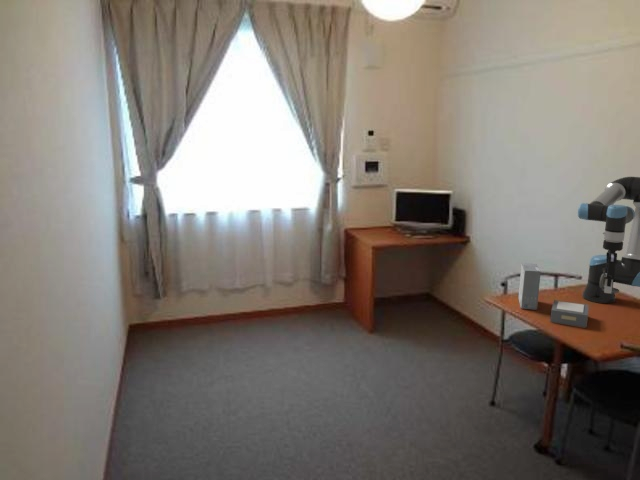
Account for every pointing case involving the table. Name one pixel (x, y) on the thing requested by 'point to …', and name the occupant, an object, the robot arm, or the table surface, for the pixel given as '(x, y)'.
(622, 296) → the table surface
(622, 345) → the table surface
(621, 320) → the table surface
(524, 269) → the hard drive box
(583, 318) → the display plinth
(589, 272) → the robot arm
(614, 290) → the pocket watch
